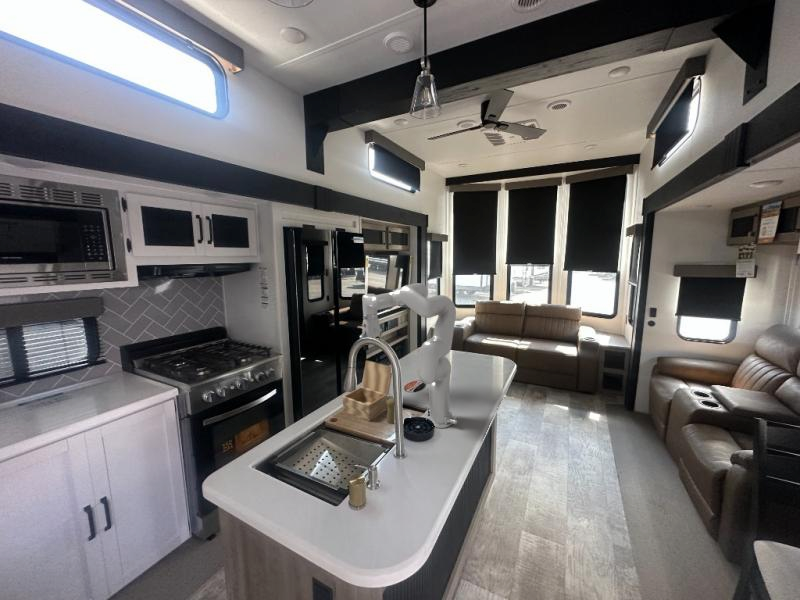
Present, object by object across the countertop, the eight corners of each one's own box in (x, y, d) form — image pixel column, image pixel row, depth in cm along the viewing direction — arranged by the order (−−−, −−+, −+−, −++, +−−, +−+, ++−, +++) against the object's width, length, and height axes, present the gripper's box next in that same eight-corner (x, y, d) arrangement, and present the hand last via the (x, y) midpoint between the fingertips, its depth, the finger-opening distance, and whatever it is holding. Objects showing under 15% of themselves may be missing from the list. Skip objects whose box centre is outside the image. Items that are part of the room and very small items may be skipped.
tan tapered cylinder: (391, 425, 145) (390, 403, 143) (384, 420, 150) (383, 398, 148) (401, 421, 148) (400, 399, 146) (394, 415, 153) (393, 395, 151)
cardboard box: (387, 409, 160) (386, 394, 158) (369, 421, 149) (368, 406, 147) (362, 400, 171) (361, 386, 169) (343, 411, 160) (342, 396, 158)
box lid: (387, 394, 158) (388, 394, 159) (391, 366, 160) (393, 367, 161) (361, 386, 169) (362, 386, 170) (365, 360, 171) (367, 360, 172)
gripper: (364, 320, 158) (366, 353, 161) (385, 314, 171) (387, 344, 174) (354, 319, 162) (356, 350, 165) (375, 313, 176) (376, 342, 179)
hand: (372, 347), depth 170 cm, fingers open, 9 cm apart
